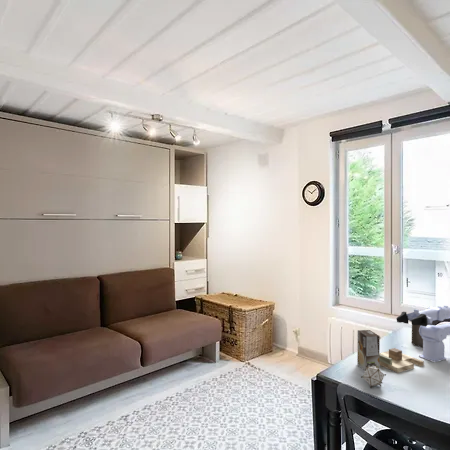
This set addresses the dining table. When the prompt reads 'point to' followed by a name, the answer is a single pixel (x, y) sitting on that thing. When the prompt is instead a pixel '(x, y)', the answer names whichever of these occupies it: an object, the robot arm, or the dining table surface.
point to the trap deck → (398, 362)
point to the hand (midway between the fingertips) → (404, 321)
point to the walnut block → (395, 354)
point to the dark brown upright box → (417, 335)
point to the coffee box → (368, 349)
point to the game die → (373, 376)
